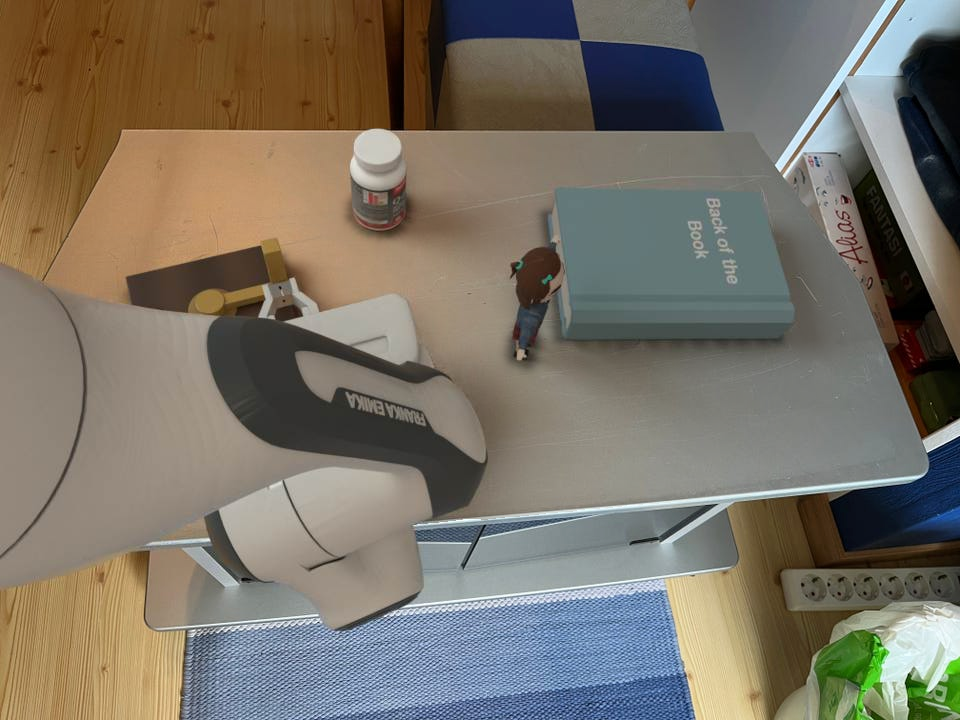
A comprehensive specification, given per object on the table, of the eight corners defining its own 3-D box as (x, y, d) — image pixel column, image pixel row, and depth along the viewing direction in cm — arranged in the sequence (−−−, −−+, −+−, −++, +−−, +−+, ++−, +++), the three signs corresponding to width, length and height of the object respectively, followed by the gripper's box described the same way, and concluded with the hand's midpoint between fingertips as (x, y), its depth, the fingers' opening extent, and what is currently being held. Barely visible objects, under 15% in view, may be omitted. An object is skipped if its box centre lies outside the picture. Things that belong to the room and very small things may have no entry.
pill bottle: (404, 234, 80) (406, 170, 71) (351, 231, 79) (346, 167, 71) (406, 192, 83) (407, 126, 74) (354, 189, 82) (349, 122, 73)
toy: (520, 412, 71) (548, 336, 58) (473, 398, 72) (491, 318, 58) (553, 297, 78) (586, 204, 65) (510, 284, 78) (534, 189, 65)
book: (740, 220, 86) (759, 191, 81) (774, 342, 78) (797, 318, 74) (547, 217, 83) (555, 187, 78) (563, 343, 75) (574, 318, 71)
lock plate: (156, 398, 68) (146, 383, 66) (134, 293, 73) (124, 275, 70) (306, 357, 72) (302, 341, 69) (276, 259, 77) (271, 241, 74)
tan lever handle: (201, 323, 69) (181, 279, 62) (195, 300, 70) (175, 254, 64) (292, 299, 71) (282, 255, 65) (286, 278, 72) (275, 231, 66)
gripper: (444, 369, 60) (392, 236, 65) (182, 445, 55) (150, 293, 60) (440, 402, 65) (392, 276, 71) (202, 473, 60) (170, 332, 66)
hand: (279, 284), depth 65 cm, fingers closed
